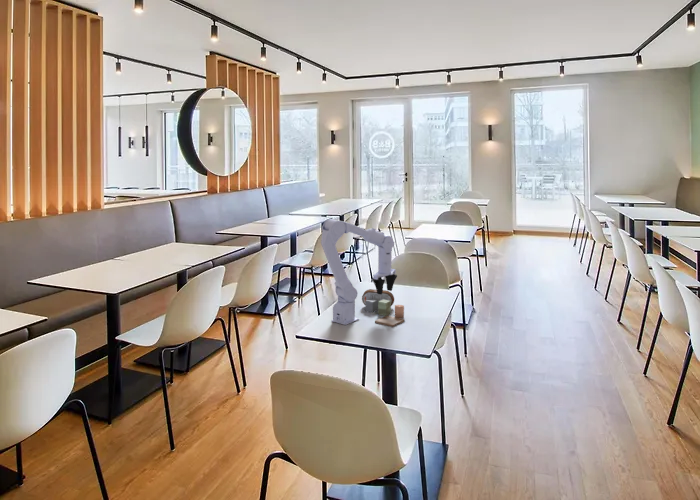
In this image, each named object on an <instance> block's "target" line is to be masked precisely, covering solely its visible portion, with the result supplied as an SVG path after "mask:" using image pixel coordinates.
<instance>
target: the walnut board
mask: <svg viewBox="0 0 700 500" xmlns="http://www.w3.org/2000/svg"><path fill="white" fill-rule="evenodd" d="M405 321H406V320H405V319H404V318H401V319H400V318H396V317H395V316H391V315H387V316H383V317H381V318H378V319H376V320H374V323H375V324H379V325H382V326H388V327H391V328H393V327H394V328H395V326H398V325H400V324H402V323H405Z"/></svg>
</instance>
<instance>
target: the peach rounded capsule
mask: <svg viewBox="0 0 700 500" xmlns="http://www.w3.org/2000/svg"><path fill="white" fill-rule="evenodd" d="M394 317H396V318H400V319H404V318H405V305H402V304H396V305H394Z"/></svg>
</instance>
